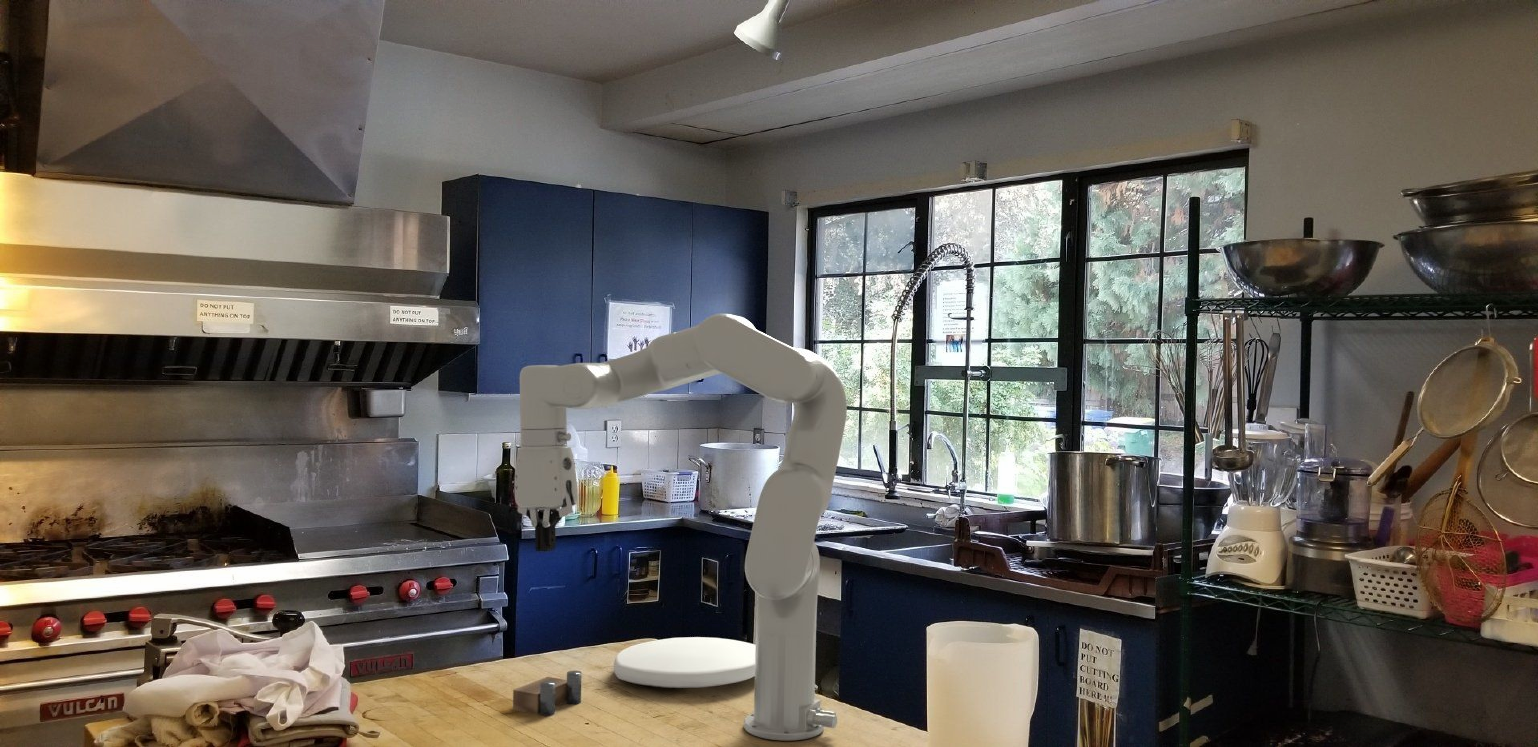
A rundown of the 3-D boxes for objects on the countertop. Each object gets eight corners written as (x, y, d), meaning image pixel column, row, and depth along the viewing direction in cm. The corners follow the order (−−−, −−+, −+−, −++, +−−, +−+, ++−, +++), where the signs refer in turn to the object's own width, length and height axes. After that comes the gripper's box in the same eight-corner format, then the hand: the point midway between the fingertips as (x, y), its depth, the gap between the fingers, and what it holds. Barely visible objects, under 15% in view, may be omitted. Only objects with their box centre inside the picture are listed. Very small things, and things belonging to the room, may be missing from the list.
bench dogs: (583, 701, 185) (584, 671, 185) (548, 716, 177) (549, 685, 177) (572, 699, 186) (572, 669, 186) (536, 714, 178) (537, 683, 178)
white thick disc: (590, 663, 191) (641, 630, 217) (593, 701, 191) (643, 663, 217) (746, 659, 185) (778, 625, 211) (749, 698, 185) (781, 659, 211)
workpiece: (571, 701, 186) (571, 680, 186) (537, 715, 178) (537, 694, 178) (547, 696, 188) (547, 676, 188) (512, 711, 180) (513, 689, 180)
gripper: (594, 438, 181) (595, 549, 181) (523, 437, 188) (525, 544, 188) (565, 441, 175) (567, 556, 175) (493, 440, 182) (495, 550, 182)
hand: (545, 549), depth 182 cm, fingers closed
